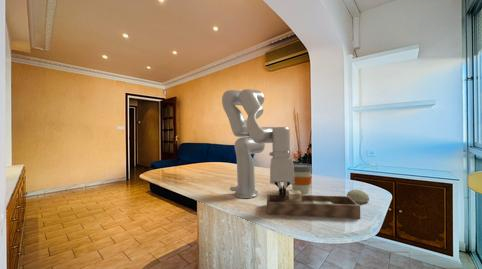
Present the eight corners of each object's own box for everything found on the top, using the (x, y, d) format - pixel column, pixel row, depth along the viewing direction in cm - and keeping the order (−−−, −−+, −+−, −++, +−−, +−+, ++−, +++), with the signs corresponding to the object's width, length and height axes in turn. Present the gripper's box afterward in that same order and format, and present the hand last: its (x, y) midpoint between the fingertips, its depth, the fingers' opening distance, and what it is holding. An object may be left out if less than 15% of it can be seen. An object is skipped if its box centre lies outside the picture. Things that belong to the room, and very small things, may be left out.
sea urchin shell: (360, 201, 89) (349, 186, 94) (350, 209, 95) (340, 194, 100) (375, 199, 92) (364, 184, 97) (365, 206, 97) (355, 192, 102)
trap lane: (267, 214, 83) (266, 202, 83) (267, 204, 93) (267, 194, 93) (360, 218, 77) (360, 205, 77) (349, 207, 88) (349, 196, 87)
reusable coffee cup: (291, 195, 106) (291, 167, 106) (287, 188, 118) (287, 163, 118) (315, 195, 105) (315, 167, 105) (309, 188, 118) (308, 163, 117)
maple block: (289, 205, 84) (289, 193, 84) (288, 201, 89) (288, 190, 89) (301, 205, 83) (301, 194, 83) (300, 201, 88) (299, 190, 88)
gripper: (263, 156, 84) (265, 199, 84) (300, 156, 81) (301, 200, 82) (264, 154, 91) (265, 193, 92) (298, 153, 89) (299, 194, 89)
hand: (282, 196), depth 87 cm, fingers closed
